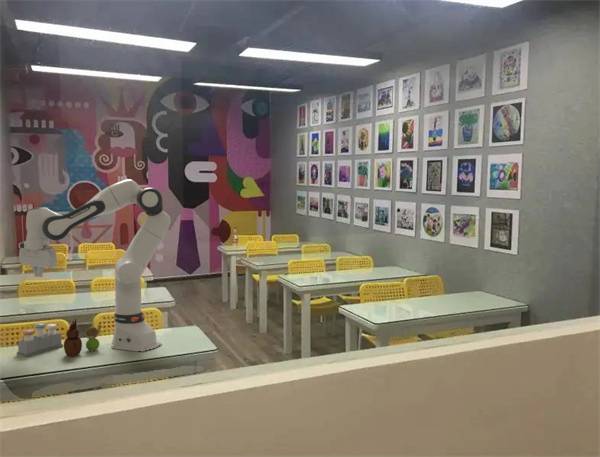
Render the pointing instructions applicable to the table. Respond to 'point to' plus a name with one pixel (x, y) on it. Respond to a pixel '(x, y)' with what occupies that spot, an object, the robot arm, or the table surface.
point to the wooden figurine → (72, 341)
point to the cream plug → (51, 329)
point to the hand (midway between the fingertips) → (38, 276)
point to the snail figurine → (93, 338)
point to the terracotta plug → (28, 335)
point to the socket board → (39, 345)
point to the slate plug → (40, 330)
